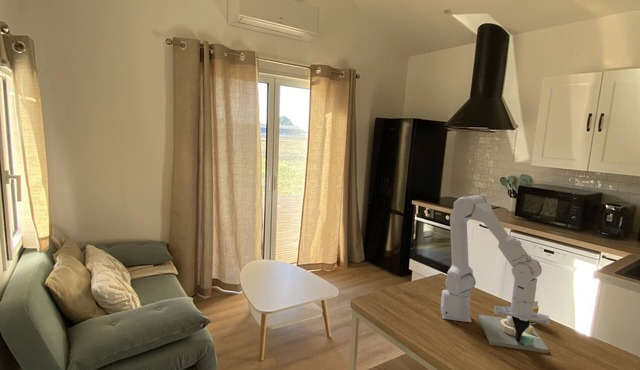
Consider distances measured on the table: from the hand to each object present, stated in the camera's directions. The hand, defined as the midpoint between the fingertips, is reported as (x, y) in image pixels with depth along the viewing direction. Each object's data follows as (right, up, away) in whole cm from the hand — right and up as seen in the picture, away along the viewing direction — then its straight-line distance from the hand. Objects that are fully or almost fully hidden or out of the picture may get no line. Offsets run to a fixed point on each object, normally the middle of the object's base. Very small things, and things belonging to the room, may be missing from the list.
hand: (517, 339), depth 102 cm
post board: (+1, -1, +6) cm, 7 cm away
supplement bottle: (+12, 0, +14) cm, 19 cm away
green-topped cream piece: (+2, 0, +4) cm, 4 cm away
